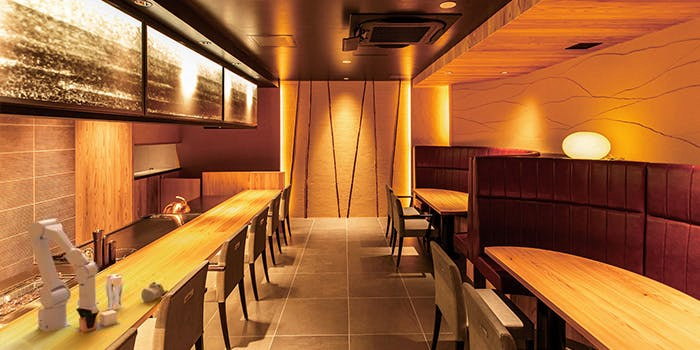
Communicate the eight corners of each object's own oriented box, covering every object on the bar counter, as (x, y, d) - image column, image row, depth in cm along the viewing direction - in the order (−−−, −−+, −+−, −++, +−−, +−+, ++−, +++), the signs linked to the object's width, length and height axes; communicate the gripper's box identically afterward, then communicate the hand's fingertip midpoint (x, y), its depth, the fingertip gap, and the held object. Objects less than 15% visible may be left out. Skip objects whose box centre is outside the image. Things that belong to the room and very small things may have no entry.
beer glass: (107, 306, 213) (106, 274, 212) (123, 304, 216) (123, 273, 215) (105, 311, 207) (104, 278, 206) (122, 309, 209) (121, 277, 208)
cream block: (104, 326, 190) (104, 315, 189) (100, 323, 192) (100, 313, 192) (116, 322, 194) (116, 312, 193) (112, 320, 196) (112, 309, 196)
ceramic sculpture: (134, 284, 219) (155, 277, 233) (134, 302, 219) (154, 294, 233) (154, 286, 216) (174, 279, 231) (153, 305, 216) (173, 297, 231)
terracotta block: (83, 331, 183) (83, 320, 183) (79, 329, 186) (79, 318, 186) (96, 328, 187) (96, 317, 187) (92, 325, 190) (92, 314, 190)
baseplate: (84, 335, 182) (84, 334, 182) (75, 329, 187) (75, 328, 187) (120, 324, 192) (120, 323, 192) (111, 319, 198) (111, 318, 198)
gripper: (105, 294, 184) (106, 328, 185) (90, 287, 193) (91, 319, 194) (86, 299, 179) (87, 333, 180) (71, 291, 188) (72, 323, 189)
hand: (88, 326), depth 187 cm, fingers closed on terracotta block, 4 cm apart
